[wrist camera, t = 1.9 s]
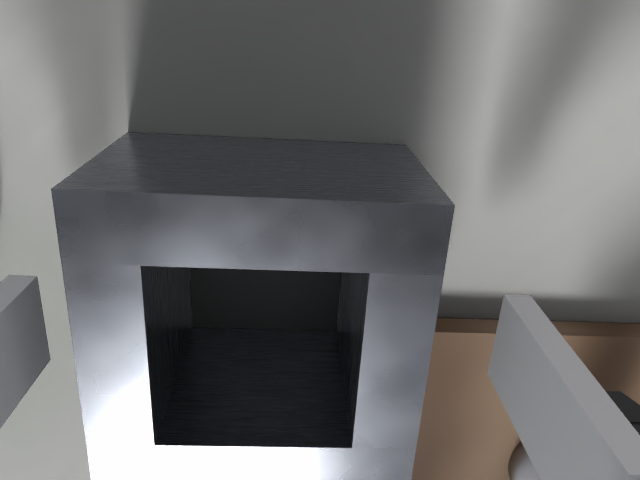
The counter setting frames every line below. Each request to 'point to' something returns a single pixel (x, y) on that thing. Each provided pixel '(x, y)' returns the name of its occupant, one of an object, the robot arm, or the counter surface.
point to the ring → (250, 344)
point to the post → (485, 405)
